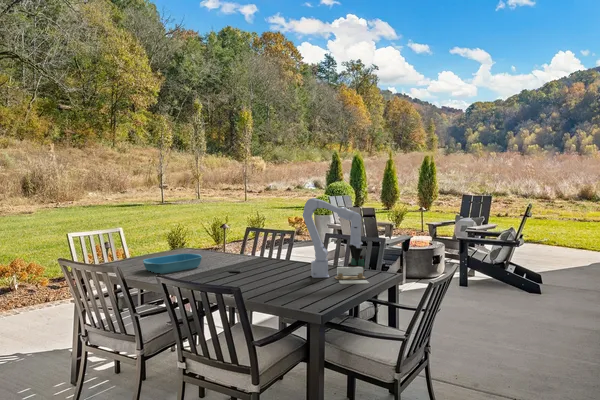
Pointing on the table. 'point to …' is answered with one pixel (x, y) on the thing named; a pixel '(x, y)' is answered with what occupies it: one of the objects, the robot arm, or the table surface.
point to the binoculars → (357, 263)
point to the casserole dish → (172, 263)
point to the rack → (350, 277)
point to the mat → (354, 282)
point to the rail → (349, 270)
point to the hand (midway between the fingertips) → (355, 259)
